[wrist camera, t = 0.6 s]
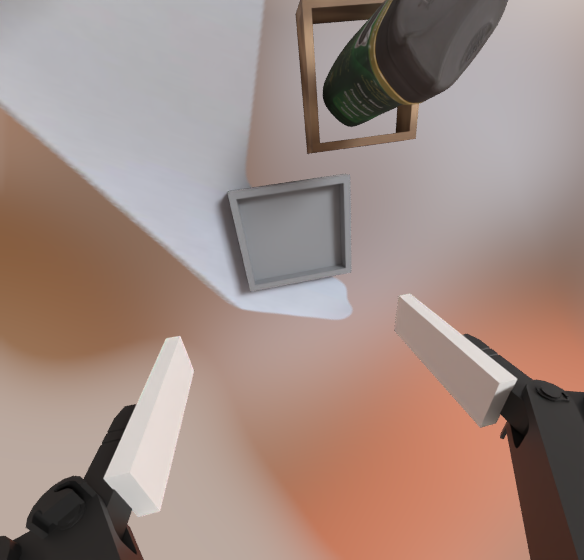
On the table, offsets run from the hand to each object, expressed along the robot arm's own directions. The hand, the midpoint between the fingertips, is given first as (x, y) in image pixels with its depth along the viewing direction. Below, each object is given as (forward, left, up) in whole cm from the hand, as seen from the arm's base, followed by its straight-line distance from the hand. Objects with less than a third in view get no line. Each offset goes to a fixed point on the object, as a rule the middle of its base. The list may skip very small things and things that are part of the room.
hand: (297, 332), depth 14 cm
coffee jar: (-17, +16, -28) cm, 36 cm away
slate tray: (+2, +5, -28) cm, 28 cm away
